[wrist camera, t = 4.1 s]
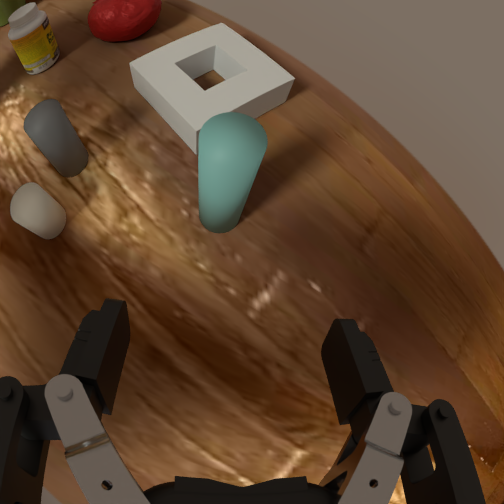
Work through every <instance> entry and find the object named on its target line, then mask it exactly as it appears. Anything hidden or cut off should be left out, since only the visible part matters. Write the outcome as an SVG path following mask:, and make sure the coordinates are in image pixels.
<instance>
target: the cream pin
mask: <svg viewBox="0 0 504 504" xmlns="http://www.w3.org/2000/svg"><path fill="white" fill-rule="evenodd" d="M10 213H11V217H12V219H13V220H14V221H15V222H16V223H18V224H20V225H21V226H23V227H25V228H26V229H28V230H30V231H31V232H33V233H35V234H37V235H38V236H40V237H42V238H44V239H53V238H55V237H57V236H58V235H59V234H60V233H61V232H62V230H63V228H64V226H65V223H66V213H65V210H64V208H63V207H62V206H61V205H60V204H59V203H58V202H57V201H56V200H54V199H53V198H52V197H51V196H50V195H49V194H48V193H47V192H46V191H45V190H44V189H42V188H41V187H40V186H39V185H38V184H36V183H33V182H30V183H26V184H24V185H22V186H21V187H20V188H19V189H18V190H17V191H16V193H15V194H14V196H13V198H12V201H11V205H10Z"/></svg>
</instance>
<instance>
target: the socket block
mask: <svg viewBox="0 0 504 504" xmlns="http://www.w3.org/2000/svg"><path fill="white" fill-rule="evenodd" d="M129 64H130V69H131V74H132V78H133V83H134V87H135V88H136V90H137V91H138V92H139V93H140V94H141V95H142V96H143V97H144V98H145V99H146V100H147V101H148V102H149V104H150V105H151V106H152V107H153V108H154V109H155V110H156V111H157V112H158V113H159V114H160V115H161V117H162V118H163V119H164V120H165V121H166V122H167V123H168V124H169V125H170V126H171V127H172V129H173V130H174V131H175V132H176V133H177V134H178V135H179V136H180V137H181V138H182V140H183V141H184V142H185V143H186V144H187V145H188V146H189V147H190V148H191V150H192V151H193V152H194V153H195V154H196V155H197V154H199V133H200V130H201V128H202V126H203V125H204V123H205V122H206V121H207V120H209V119H210V118H211V117H213V116H215V115H218V114H221V113H226V112H237V113H242V114H245V115H248V116H250V117H252V118H253V119H255V118H257V117H259V116H261V115H262V114H264V113H266V112H268V111H269V110H271V109H273V108H275V107H277V106H279V105H280V104H282V103H284V102H286V99H287V97H288V94H289V92H290V89H291V87H292V84H293V82H294V80H295V78H294V77H293V76H292V75H290V74H289V73H288V72H287V71H286V70H284V69H283V68H282V67H281V66H280V65H278V64H277V63H276V62H275V61H273V60H272V59H271V58H270V57H268V56H267V55H266V54H265V53H263V52H262V51H261V50H259V49H258V48H257V47H255V46H254V45H253V44H251V43H250V42H249V41H247V40H246V39H245V38H243V37H242V36H240V35H239V34H238V33H236V32H235V31H233V30H232V29H230V28H229V27H227V26H226V25H225V24H223V23H220V24H217V25H214V26H211V27H208V28H206V29H203V30H200V31H198V32H195V33H193V34H190V35H188V36H185V37H183V38H181V39H178V40H176V41H174V42H171V43H169V44H167V45H165V46H162V47H160V48H158V49H156V50H154V51H152V52H150V53H148V54H146V55H144V56H142V57H140V58H138V59H136V60H134V61H132V62H130V63H129ZM212 70H215V71H216V72H217V73H218V74H219V75H220V76H222V77H223V78H224V79H225V81H223V82H221V83H219V84H217V85H215V86H213V87H211V88H209V89H207V90H205V91H204V90H203V89H202V88H201V87H200V86H199V85H198V84H197V83H196V82H195V81H194V80H193V79H195V78H197V77H199V76H201V75H203V74H205V73H207V72H209V71H212Z"/></svg>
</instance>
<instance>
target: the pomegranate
mask: <svg viewBox="0 0 504 504" xmlns="http://www.w3.org/2000/svg"><path fill="white" fill-rule="evenodd" d="M94 3H95V4H94V5H93V7H92V8H91V10H90V12H89V14H88V24H89V27H90V30H91V32H92V34H93V35H94V36H95V37H97V38H99V39H101V40H103V41H108V42H115V41H127V40H131V39H134V38H136V37H138V36H140V35H142V34H143V33H145V32H147V31H148V30H149V29H150V28H151V27H152V26H153V25H154V24H155V22H156V21H157V19H158V17H159V14H160V11H161V4H162V1H161V0H96V1H95V2H94Z"/></svg>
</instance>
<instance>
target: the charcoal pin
mask: <svg viewBox="0 0 504 504" xmlns="http://www.w3.org/2000/svg"><path fill="white" fill-rule="evenodd" d="M24 130H25V132H26V133H27V134H28V136H29V137H30V138H31V140H32V141H33V142H34V143H35V144H36V146H37V147H38V148H39V149H40V151H41V152H42V153H43V154H44V155H45V157H46V158H47V159H48V160H49V161H50V163H51V164H52V165H53V166H54V167H55V168H56V170H57V171H58V172H59V173H60V174H61V175H62V176H64V177H73V176H75V175H77V174H79V173H80V172H81V171H82V170H83V169H84V168H85V166H86V164H87V162H88V152H87V150H86V149H85V147H84V145H83V143H82V142H81V140H80V138H79V137H78V135H77V133H76V132H75V130H74V128H73V126H72V125H71V123H70V121H69V119H68V118H67V116H66V114H65V112H64V110H63V109H62V107H61V105H60V103H59V102H58V101H57V100H55V99H48V100H44V101H42V102H40V103H38V104H37V105H36V106H35V107H33V108H32V109H31V111H30V112H29V113H28V115H27V116H26V118H25V121H24Z"/></svg>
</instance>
